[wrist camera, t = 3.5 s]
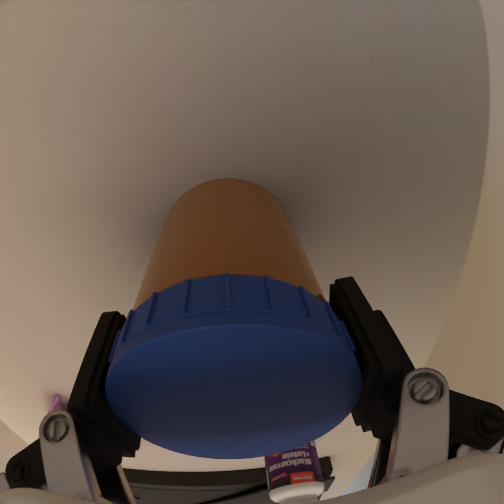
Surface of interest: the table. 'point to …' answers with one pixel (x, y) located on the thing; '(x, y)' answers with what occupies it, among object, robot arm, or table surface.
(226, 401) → the jar lid
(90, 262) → the table surface
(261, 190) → the jar
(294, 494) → the pill bottle
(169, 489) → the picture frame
